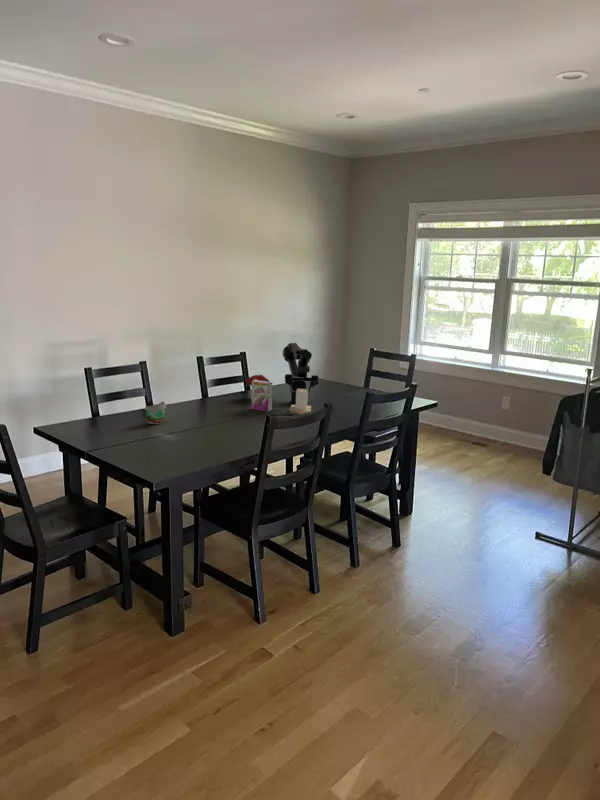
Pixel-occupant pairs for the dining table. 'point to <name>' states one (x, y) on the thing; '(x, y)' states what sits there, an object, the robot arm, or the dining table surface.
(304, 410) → the oak block
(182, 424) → the dining table surface
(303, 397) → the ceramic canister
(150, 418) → the food container
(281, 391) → the dining table surface
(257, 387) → the candy bar box
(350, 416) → the dining table surface
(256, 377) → the decorative mushroom
